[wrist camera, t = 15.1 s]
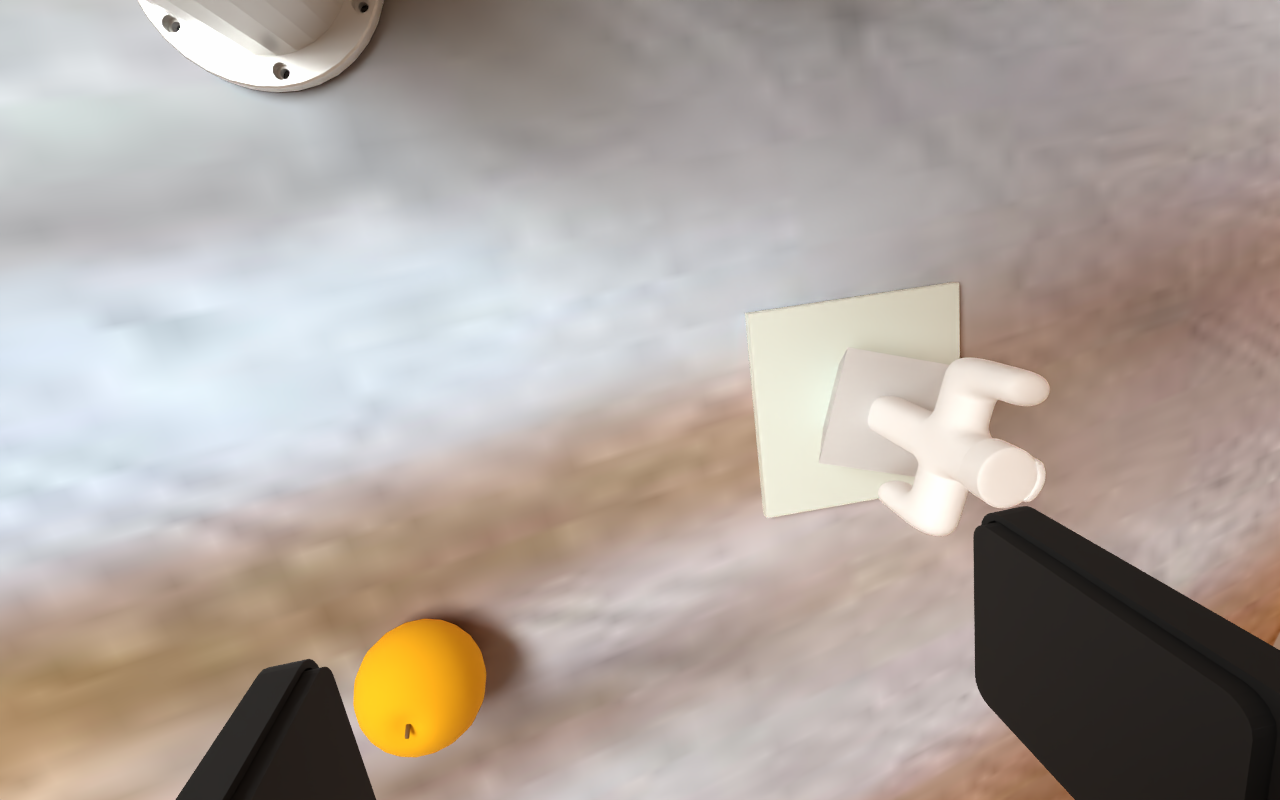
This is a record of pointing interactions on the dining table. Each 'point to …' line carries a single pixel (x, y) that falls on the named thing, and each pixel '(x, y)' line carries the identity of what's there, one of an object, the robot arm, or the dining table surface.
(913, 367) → the figurine
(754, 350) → the cream board
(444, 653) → the apple
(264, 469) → the dining table surface
